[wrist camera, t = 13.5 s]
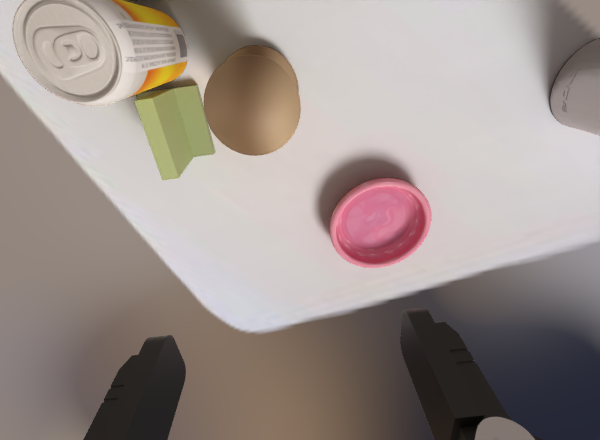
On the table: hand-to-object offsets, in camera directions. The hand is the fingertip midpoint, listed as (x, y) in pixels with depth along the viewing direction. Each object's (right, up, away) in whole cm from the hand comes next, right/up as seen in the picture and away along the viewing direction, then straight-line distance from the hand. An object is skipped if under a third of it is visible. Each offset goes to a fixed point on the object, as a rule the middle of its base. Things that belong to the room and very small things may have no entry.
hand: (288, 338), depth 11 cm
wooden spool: (-4, +18, +21) cm, 28 cm away
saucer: (+10, +5, +30) cm, 32 cm away
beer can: (-13, +21, +19) cm, 31 cm away
